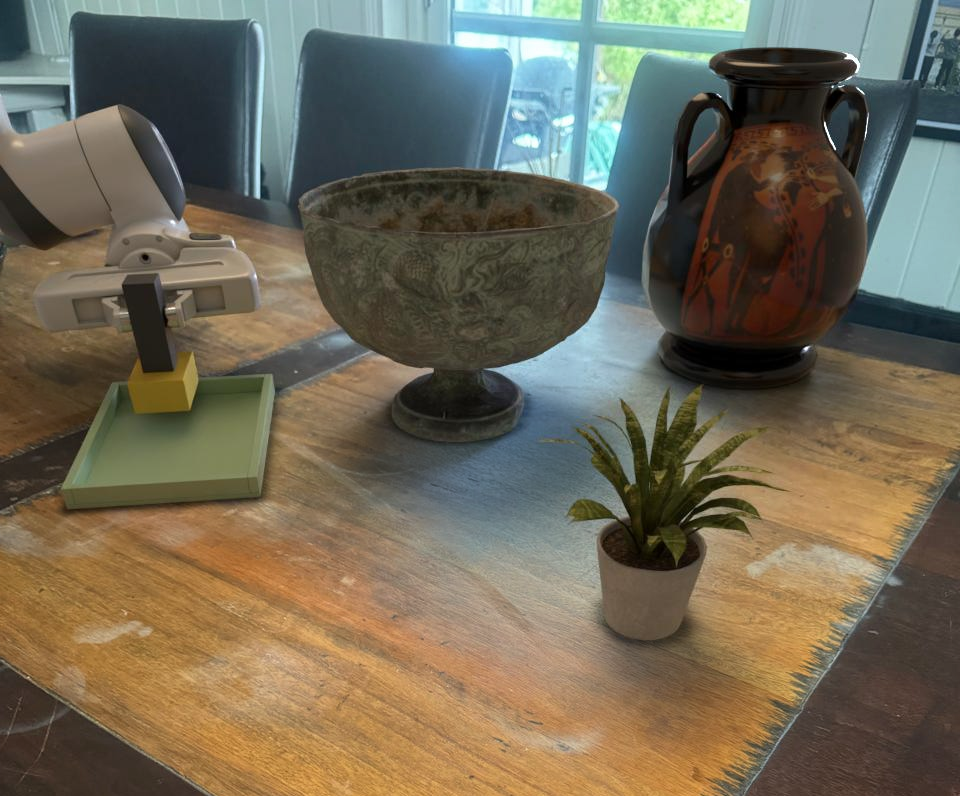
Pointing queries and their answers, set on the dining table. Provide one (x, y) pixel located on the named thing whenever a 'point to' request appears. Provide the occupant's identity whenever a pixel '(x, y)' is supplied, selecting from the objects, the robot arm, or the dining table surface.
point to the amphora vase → (759, 221)
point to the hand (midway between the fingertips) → (149, 321)
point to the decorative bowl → (458, 281)
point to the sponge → (156, 351)
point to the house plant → (660, 518)
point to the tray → (175, 447)
